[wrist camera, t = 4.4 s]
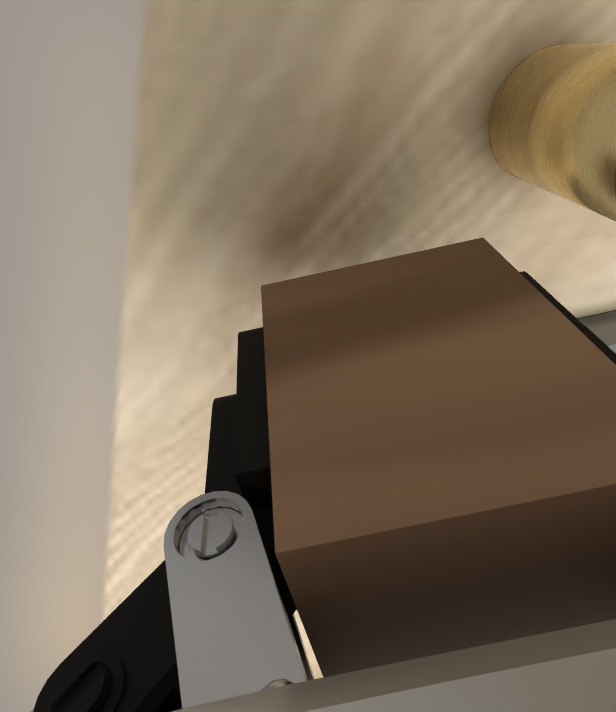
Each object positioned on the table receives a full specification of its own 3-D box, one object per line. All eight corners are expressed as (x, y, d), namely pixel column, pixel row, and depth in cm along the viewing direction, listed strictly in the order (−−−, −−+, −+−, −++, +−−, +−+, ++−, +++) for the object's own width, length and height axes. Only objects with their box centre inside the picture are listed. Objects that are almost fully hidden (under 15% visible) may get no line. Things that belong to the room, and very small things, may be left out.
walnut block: (260, 285, 10) (275, 553, 5) (483, 237, 10) (716, 462, 5) (303, 442, 13) (339, 720, 8) (479, 405, 12) (631, 663, 8)
